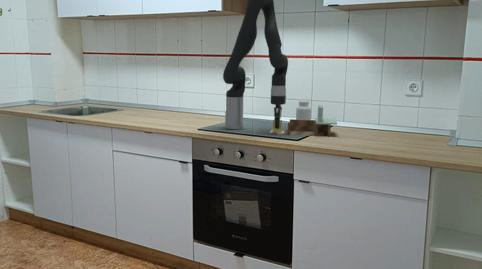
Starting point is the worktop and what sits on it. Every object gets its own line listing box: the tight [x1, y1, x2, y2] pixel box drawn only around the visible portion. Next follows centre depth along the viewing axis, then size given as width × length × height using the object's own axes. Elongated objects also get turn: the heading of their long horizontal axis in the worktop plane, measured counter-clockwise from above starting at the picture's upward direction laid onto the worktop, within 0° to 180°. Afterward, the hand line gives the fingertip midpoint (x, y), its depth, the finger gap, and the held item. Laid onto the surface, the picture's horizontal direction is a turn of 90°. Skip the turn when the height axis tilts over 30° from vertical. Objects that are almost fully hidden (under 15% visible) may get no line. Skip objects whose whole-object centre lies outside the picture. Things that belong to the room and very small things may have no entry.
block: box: [272, 119, 283, 132], centre depth 228 cm, size 4×4×6 cm
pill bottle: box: [295, 100, 312, 120], centre depth 246 cm, size 8×8×15 cm
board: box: [268, 118, 332, 138], centre depth 227 cm, size 30×13×7 cm, turn 82°
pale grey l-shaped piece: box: [314, 104, 338, 126], centre depth 224 cm, size 10×13×8 cm
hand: (277, 127), depth 228 cm, fingers open, 6 cm apart
